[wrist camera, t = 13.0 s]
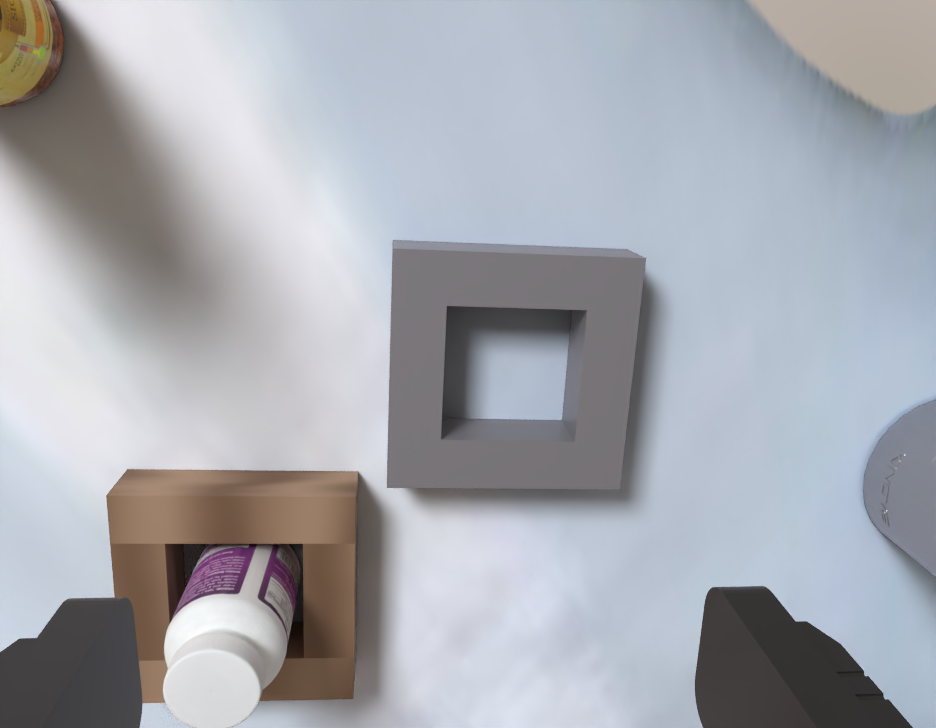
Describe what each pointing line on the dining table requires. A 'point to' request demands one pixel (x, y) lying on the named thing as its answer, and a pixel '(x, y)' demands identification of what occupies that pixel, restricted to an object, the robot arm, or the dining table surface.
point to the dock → (242, 522)
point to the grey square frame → (498, 440)
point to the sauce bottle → (28, 49)
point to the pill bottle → (230, 632)
